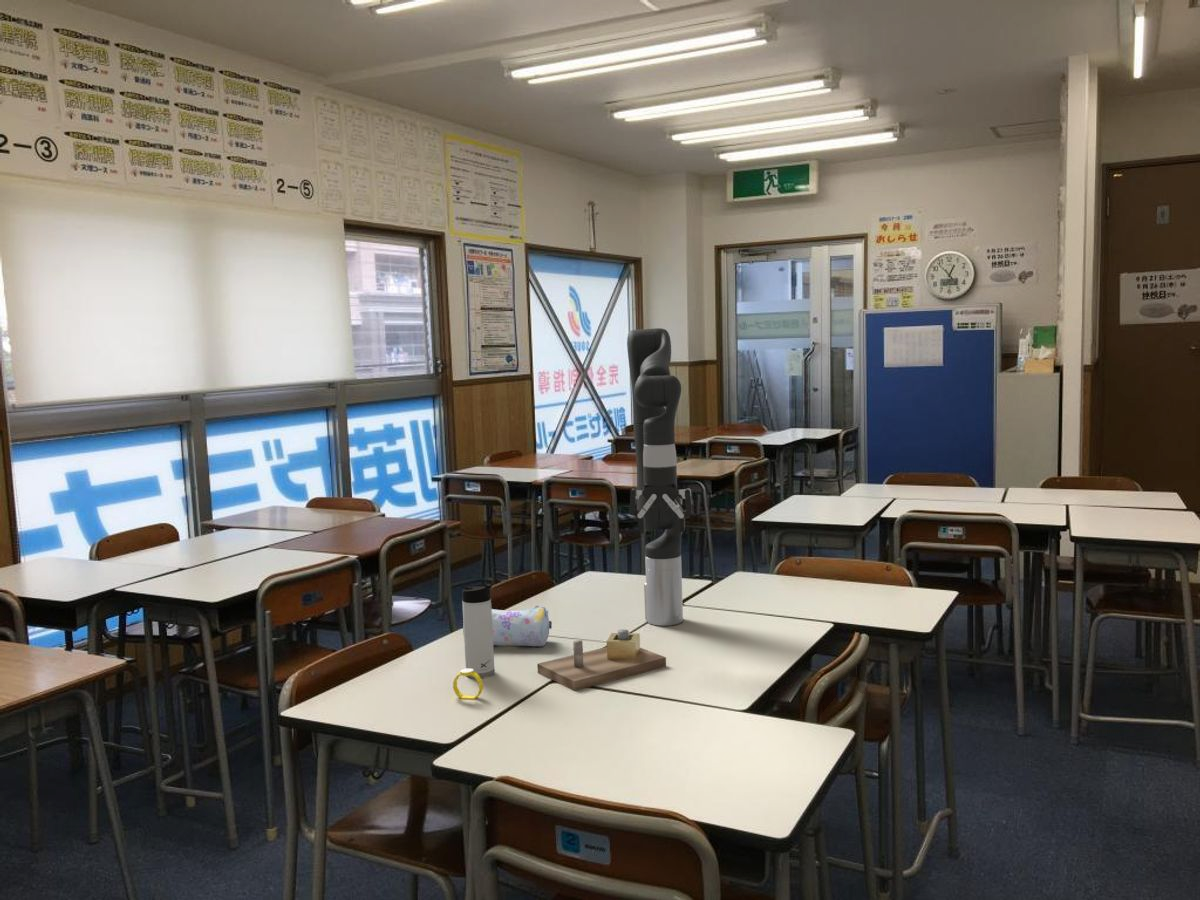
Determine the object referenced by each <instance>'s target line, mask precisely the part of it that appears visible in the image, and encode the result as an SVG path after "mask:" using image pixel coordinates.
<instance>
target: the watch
mask: <svg viewBox="0 0 1200 900" xmlns="http://www.w3.org/2000/svg"><path fill="white" fill-rule="evenodd" d="M468 675H472V676H473V677H475V678H474V679H475V680H476V681H477V683H478V689H479V690H478V692H477V694H476V695H464V694H463V693H461V691H460V690H459V688H458V680H459V677H461V676H463V677H468ZM452 689H453V691H454V694H455V695H456V696H457V697H458V698H459V699H460V700H476V699H477V698H478V697H479V696H480V695H481V694H482V691H483V689H484V683H483V678H480V676H479V675H478V674H477V673H475V672H474V670H473V669H471V668H467V669H466V668H463V669H460V671H459V673H458V674H457V675H456V676H455V677H454V679H453V683H452Z"/></svg>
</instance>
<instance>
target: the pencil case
mask: <svg viewBox="0 0 1200 900" xmlns="http://www.w3.org/2000/svg"><path fill="white" fill-rule="evenodd" d="M491 609H492V628H493V646H502V647H503V646H506V647H507V646H508V647H509V646H510V647H544V646H545V645H546V643H547V641H548V638H549V635H550V629H551V630H552V622H553V621H552V620H549V619H550V618H549V610H548V609H547V608H546V607H545V606H539V605H535V606H534V607H533V608H529V609H527V608H525V609H520V610H503V609H494V608H491ZM462 625H463V624H462ZM462 632H463V633H462V634H463V636H464V625H463V627H462Z"/></svg>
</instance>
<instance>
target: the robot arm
mask: <svg viewBox="0 0 1200 900" xmlns="http://www.w3.org/2000/svg"><path fill="white" fill-rule="evenodd" d="M626 347H627V357H628V366H629V373H630V374H629V375H630V384H631V393H632V395H631V396H632V422H633V438H634V439H633V440H634V446H635V462H636V479H637V480H636V488H635V487H634V488H632V489H631V490H630V492H629V515H630V516H632V517H636V518H637V525H638V526H637V529H638V532H640V533H641V535H646V531H659V530H660V531H661V530H664V531H663V534H661V535H660V536H659V537H658V538H656V539H654V540H652V541H651V542H648V543H647V544H646V545H645V546H644V560H645V561H644V565H645V583H644V584H643V590H644V591H643V594H644V596H643V597H644V619H645V621H647V623H648V624H650V625H654V626H665V627H666V626H675V625H679V624H682V622H683V621H684V612H683V610H684V609H683V577H682V575H683V574H682V571H683V570H682V535H683V533H684V532H685V530H686V517H690V516H692V515H693V513H694V512H693V511H694V508H693V499H692V498H693V497H692V495H693V494H692V489H691V488H689V487H688V488H684V489H679V488H678V476H677V473H678V472H677V467H678V466H677V463H678V462H677V461H678V458H677V450H676V443H675V442H676V441H675V440H676V438H675V437H676V435H675V425H676V424H675V422H676V416H677V410H678V406H679V403H680V398H681V394H682V385H681V381H680V380H679V379H678V378H679V377H677V376H675V375H671V372H670V371H671V369H670V366H671V361H672V341H671V337H670V334H669V332H668V331H667V330H666V329H665V328H659V327H658V328H642V329H641V328H640V329H639V328H638V329H633V330H630V331H629V332H628V334H627V338H626ZM679 495H680V496H681V498H682V499H684V500H685V510H684V509H683V508H682V502H681V498H680V497H679Z"/></svg>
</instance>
